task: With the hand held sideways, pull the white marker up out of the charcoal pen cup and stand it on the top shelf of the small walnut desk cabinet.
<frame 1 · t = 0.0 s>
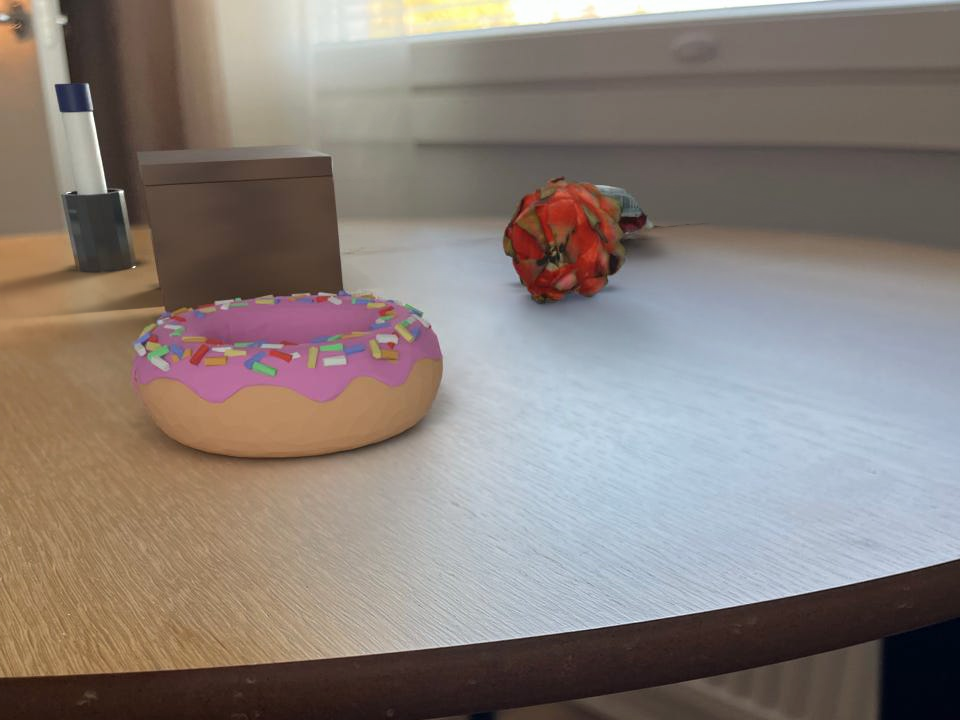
donut: (297, 424, 50), on the table
desk cabinet: (247, 302, 76), on the table
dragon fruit: (564, 299, 75), on the table
packaged food: (584, 242, 99), on the table
marker: (106, 266, 89), resting on pen cup
pen cup: (108, 272, 89), on the table
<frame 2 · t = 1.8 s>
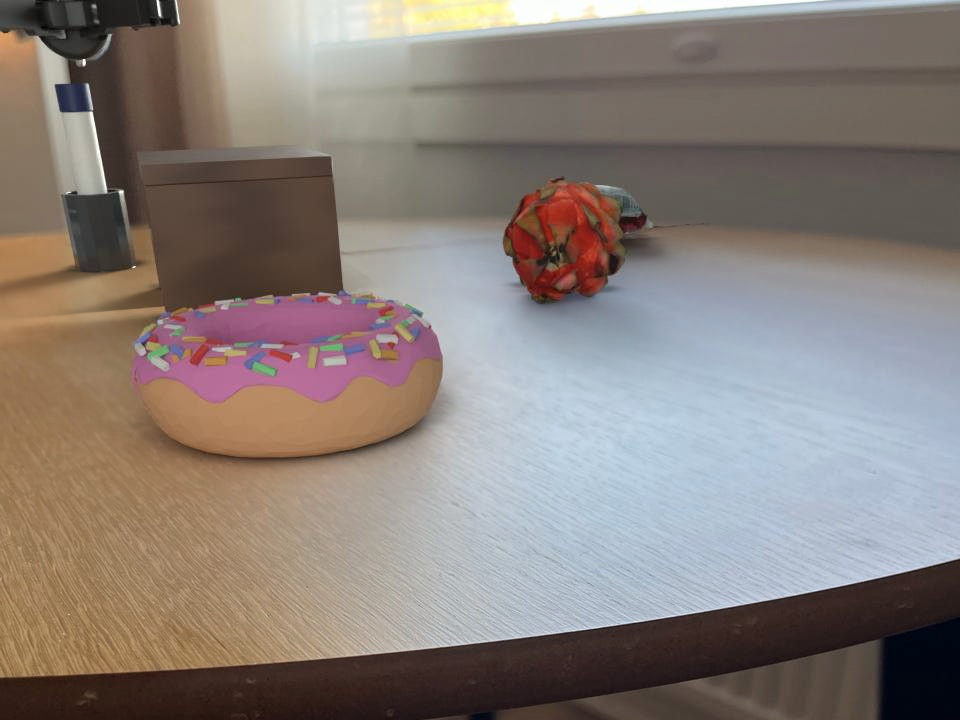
hand: (61, 7, 88), 20 cm above the table, tool horizontal, fingers open, 13 cm apart
nothing on the table moved.
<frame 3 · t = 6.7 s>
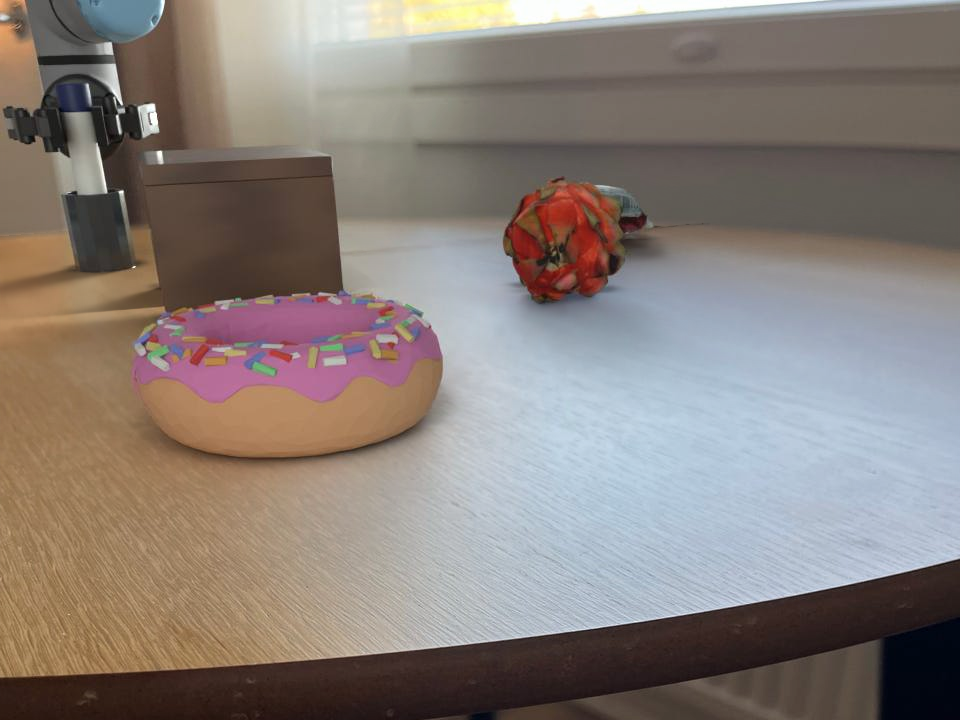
hand: (77, 127, 79), 12 cm above the table, tool horizontal, fingers closed on marker, 3 cm apart
marker: (106, 266, 89), point 1 cm above the table, touching gripper, pen cup
everything else where it was.
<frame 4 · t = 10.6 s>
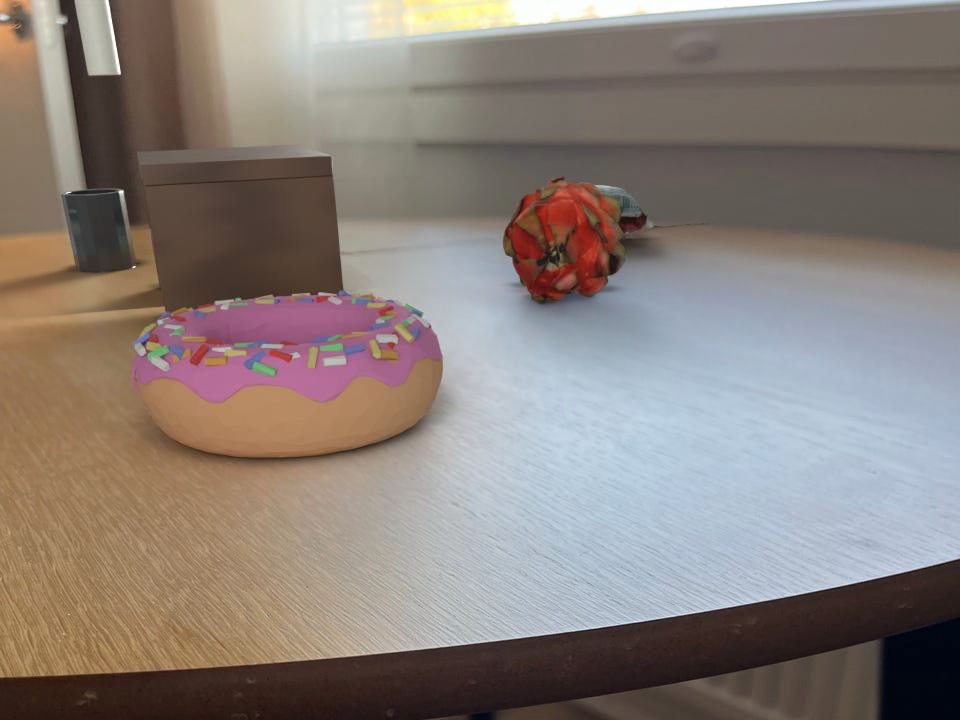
marker: (104, 75, 79), point 15 cm above the table, touching gripper
everything else where it was.
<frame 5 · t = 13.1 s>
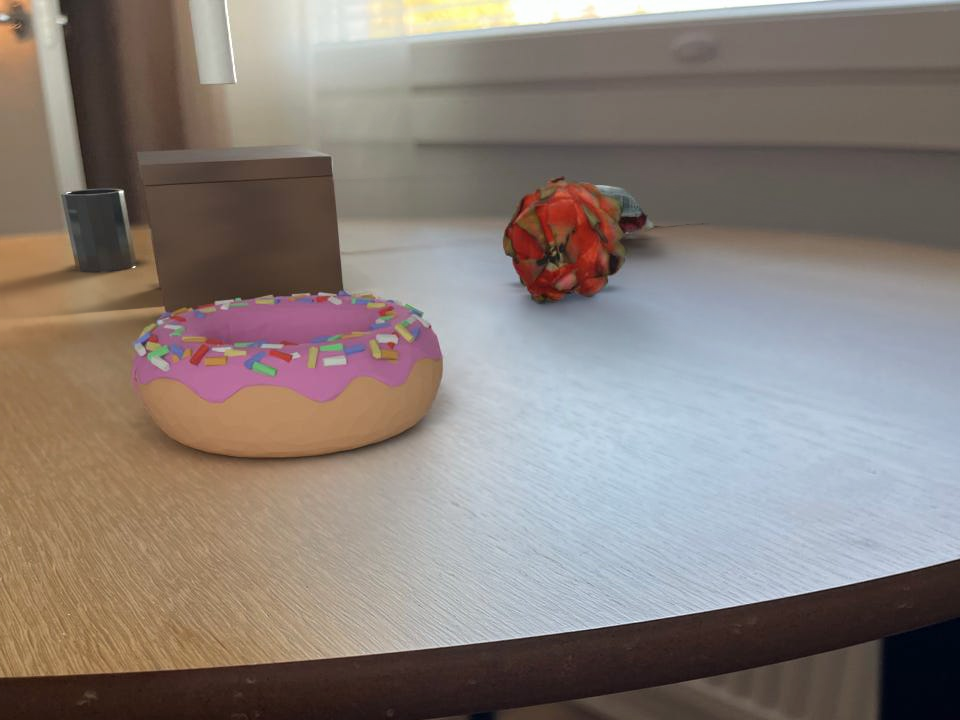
marker: (218, 84, 69), point 14 cm above the table, touching gripper
everything else where it was.
when the fingers open (21 cm above the table, at t = 14.4 s): marker stays where it is, resting on desk cabinet.
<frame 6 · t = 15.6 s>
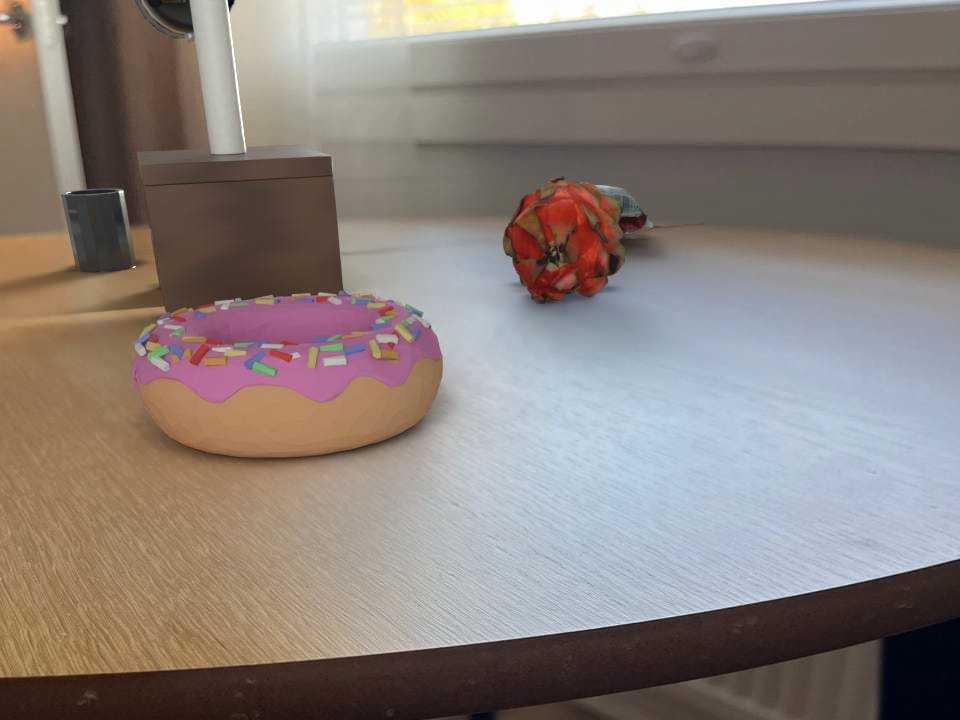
marker: (228, 153, 71), point 10 cm above the table, touching desk cabinet
everything else where it was.
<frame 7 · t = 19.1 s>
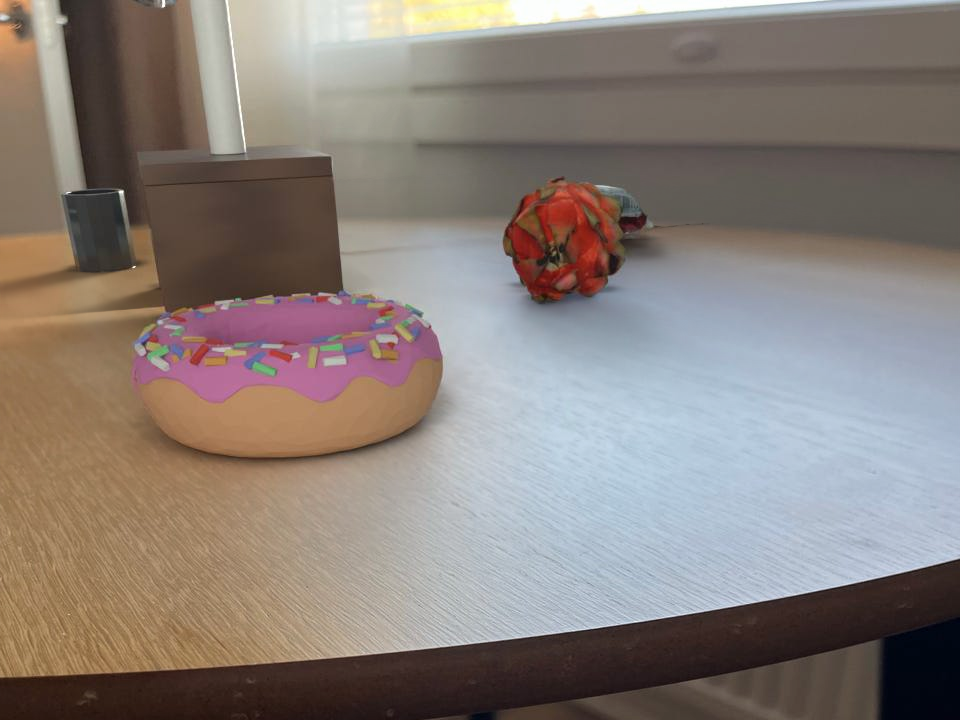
nothing on the table moved.
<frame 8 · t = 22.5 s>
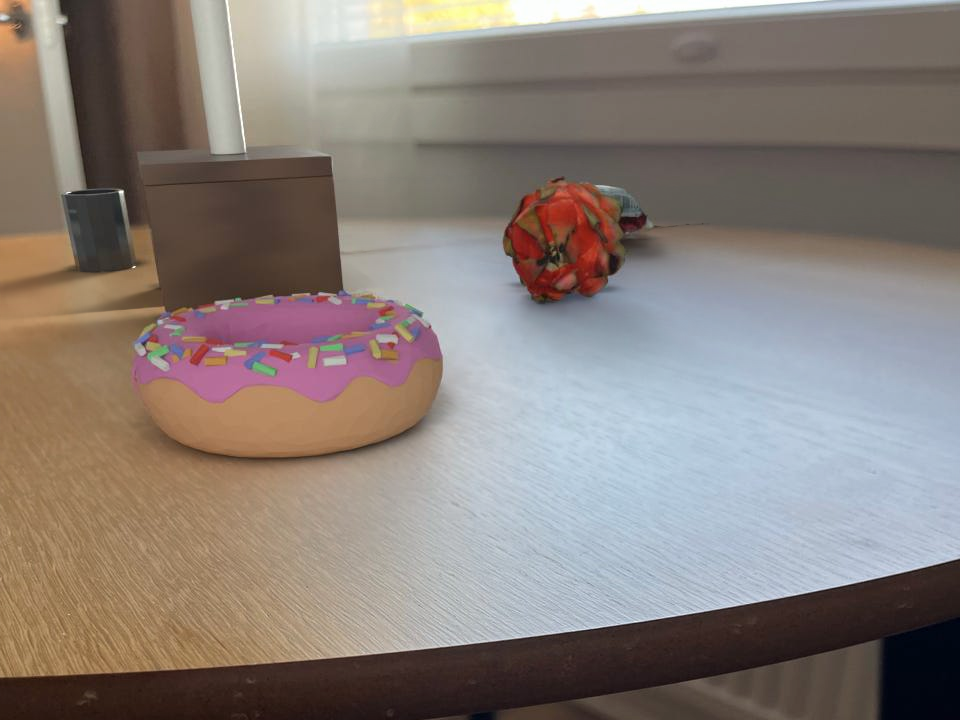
nothing on the table moved.
at the end: marker inside the target area on the desk cabinet (0.0 cm from its centre), point 10.0 cm above the desk cabinet's base; the gripper is holding nothing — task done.
